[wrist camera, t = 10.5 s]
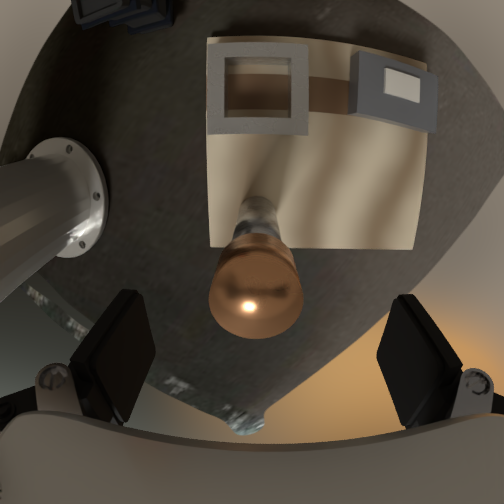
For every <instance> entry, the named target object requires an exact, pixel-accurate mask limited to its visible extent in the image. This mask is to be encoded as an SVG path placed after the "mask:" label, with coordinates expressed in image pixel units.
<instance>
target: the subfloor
mask: <svg viewBox="0 0 504 504" xmlns="http://www.w3.org/2000/svg"><path fill="white" fill-rule="evenodd" d="M233 42H275V43H294V44H306V45H308V66H309V118H308V136H302V135H278V134H221V135H207V71H206V136H207V179H208V206H209V228H210V247H226V246H227V245H228V244H229V243H230V242H231V241H232V238H233V234H234V229H235V225H236V221H237V217H238V213H239V209H240V206H241V204H242V203H243V202H244V201H245V200H246V199H248V198H249V197H252V196H262V197H265V198H267V199H268V200H270V201H271V202H272V204H273V205H274V208H275V211H276V216H277V221H278V225H279V230H280V235H281V239H282V242H283V243H284V244H285V245H286V246H287V247H288V248H335V249H397V250H412V249H413V244H414V239H415V234H416V229H417V224H418V218H419V212H420V205H421V198H422V191H423V183H424V174H425V164H426V151H427V133H422V132H419V131H415V130H412V129H408V128H405V127H401V126H397V125H393V124H389V123H385V122H381V121H376V120H372V119H367V118H363V117H358V116H352V115H347V113H348V99H349V80H350V57H351V56H352V55H354V54H355V53H356V52H357V51H359V50H361V51H365V52H369V53H373V54H376V55H380V56H383V57H387V58H390V59H393V60H396V61H399V62H402V63H405V64H408V65H411V66H414V67H416V68H419V69H422V70H424V71H427V64H426V63H423V62H420V61H417V60H414V59H411V58H407V57H404V56H401V55H397V54H393V53H389V52H385V51H381V50H377V49H373V48H368V47H363V46H358V45H353V44H347V43H341V42H334V41H327V40H319V39H310V38H299V37H284V36H225V37H210V38H207V56H208V44H215V43H233ZM231 117H270V118H288V66H284V65H228V118H231Z"/></svg>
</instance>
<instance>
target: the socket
mask: <svg viewBox="0 0 504 504" xmlns="http://www.w3.org/2000/svg"><path fill="white" fill-rule="evenodd" d="M228 65H284V66H288V118H270V117H231V118H228ZM308 118H309V66H308V45H306V44H294V43H275V42H233V43H215V44H208V56H207V135H221V134H278V135H302V136H308Z"/></svg>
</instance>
